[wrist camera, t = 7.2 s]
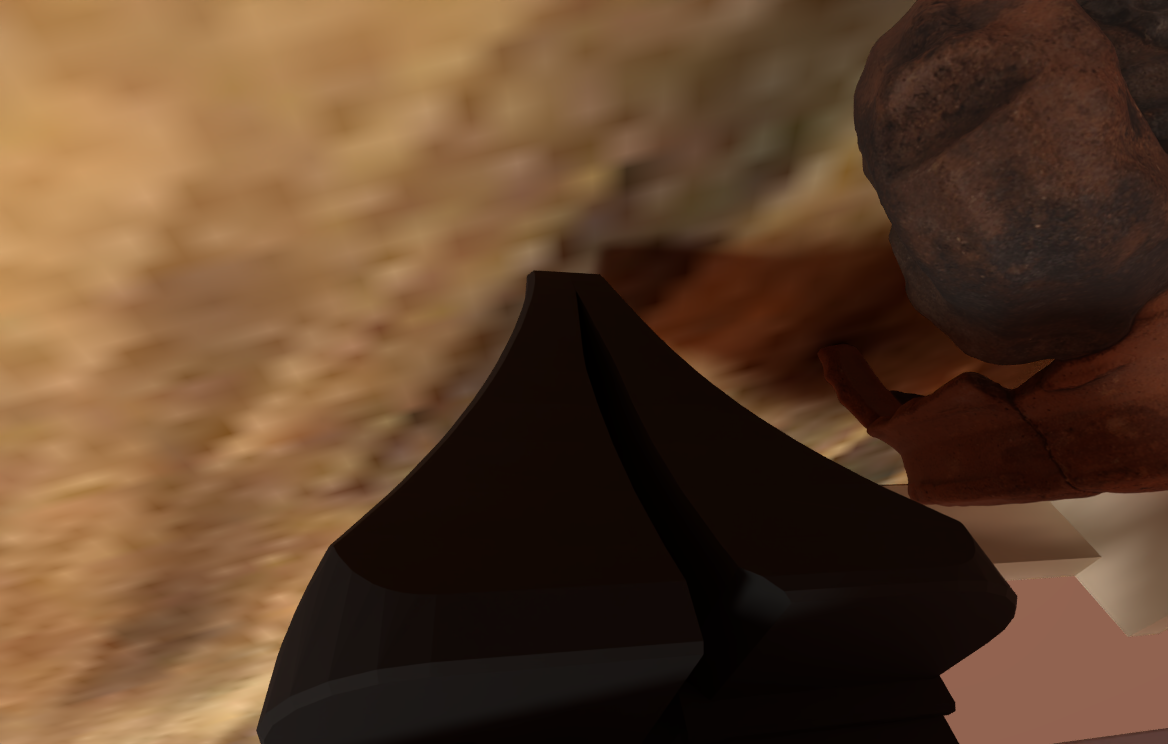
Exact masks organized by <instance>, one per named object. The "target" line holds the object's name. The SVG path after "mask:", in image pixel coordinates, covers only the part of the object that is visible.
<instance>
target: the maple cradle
mask: <svg viewBox="0 0 1168 744" xmlns="http://www.w3.org/2000/svg"><path fill="white" fill-rule="evenodd" d="M883 487H885V488H887V489H889V490H892V491H894V492H896V493H898V494H900V495H903V496H905V497H907V498H909V499H910V497H909V495H908V485H894V486H883ZM925 506H927V507H929V508H931V509H934V510H936V511H938V512H940V513H942V514H945V515H947V516H949V517H951V518H954V519H956V520H958V521H960V522H961V523H962V524H963V525H964V526H965V527H966V529H967V530H968V531H969V533H970V534H971V535H972V537H973V538H974V539H975V541H976V542H977V543H978V545H979V546H980V547H981V548H982V550H983V551H984V552H985V554H986V555H987V556H988V558H989V559H990V560H991V562H992V563H993V564H994V566H995V567H996V568H997V570H998V571H999V572H1000V574H1001V575H1002V576H1003V578H1004V579H1005V580H1006V581H1007V580H1022V579H1036V578H1050V577H1051V578H1052V577H1064V576H1065V577H1066V576H1075V577H1076V578H1077V579H1078V580H1079V581H1080V582H1081V584H1082V585H1083V586H1084V587H1085V588H1086V589H1087V591H1088V592H1089V593H1090V594H1091V595H1092V596H1093V597H1094V599H1095V600H1096V601H1097V602H1098V603H1099V604H1100V605H1101V607H1102V608H1103V609H1104V610H1105V611H1106V612H1107V613H1108V614H1109V616H1110V617H1111V618H1112V619H1113V620H1114V621H1115V623H1116V624H1117V625H1118V626H1119V627H1120V628H1121V630H1122V631H1123V632H1124V633H1125V634H1126V635H1127V636H1128V637H1133V636H1143V635H1154V634H1159V633H1161V632H1163V631H1165V630H1167V629H1168V490H1167V491H1158V492H1146V493H1128V494H1123V493H1109V492H1105V493H1101V494H1099V495H1096V496H1092V497H1088V498H1078V499H1064V500H1056V501H1041V502H1035V503H1025V504H1006V505H996V506H967V507H960V506H953V507H946V506H940V505H936V504H935V505H925Z"/></svg>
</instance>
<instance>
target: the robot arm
mask: <svg viewBox="0 0 1168 744" xmlns="http://www.w3.org/2000/svg"><path fill="white" fill-rule="evenodd" d="M1016 605H1017V595H1016V594H1015V592H1014V591H1013V590H1012V588H1010V586H1009V584H1008V583H1007V582H1006V580H1005V579H1004V578H1003V576H1002V575H1001V574H1000V572H999V571H998V570H997V568H996V567H995V566H994V564H993V563H992V562H991V560H990V559H989V558H988V556H987V555H986V554H985V552H984V551H983V550H982V548H981V547H980V546H979V545H978V543H977V542H976V541H975V539H974V538H973V537H972V535H971V534H970V533H969V531H968V530H967V529H966V527H965V526H964V525H963V524H962V523H961V522H960V521H958V520H956V519H954V518H951V517H949V516H947V515H945V514H942V513H940V512H938V511H936V510H934V509H931V508H929V507H927V506H925V505H923V504H920V503H918V502H916V501H914V500H912V499H909V498H907V497H905V496H903V495H900V494H898V493H896V492H894V491H892V490H889V489H887V488H885V487H883V486H881V485H878V484H876V483H874V482H872V481H870V480H868V479H866V478H864V477H862V476H860V475H858V474H857V473H855V472H853V471H851V470H849V469H847V468H845V467H843V466H841V465H839V464H837V463H836V462H834V461H832V460H830V459H828V458H826V457H824V456H822V455H821V454H819V453H817V452H815V451H814V450H812V449H810V448H808V447H807V446H805V445H803V444H801V443H800V442H798V441H796V440H794V439H793V438H791V437H790V436H788V435H786V434H785V433H783V432H782V431H780V430H778V429H777V428H775V427H774V426H772V425H770V424H769V423H767V422H766V421H764V420H762V419H761V418H759V417H758V416H756V415H755V414H753V413H752V412H750V411H749V410H747V409H746V408H745V407H743V406H742V405H740V404H739V403H737V402H736V401H735V400H733V399H732V398H731V397H729V396H728V395H727V394H725V393H724V392H723V391H721V390H720V389H719V388H717V387H716V386H715V385H713V384H712V383H711V382H709V381H708V380H707V379H706V378H704V377H703V376H702V375H701V374H700V373H698V372H697V371H696V370H695V369H694V368H692V367H691V366H690V365H689V364H688V363H687V362H686V361H685V360H683V359H682V358H681V357H680V356H679V355H678V354H677V353H676V352H674V351H673V350H672V349H671V348H670V347H669V346H668V345H667V344H666V343H665V342H664V341H663V340H662V339H661V338H660V337H658V336H657V335H656V334H655V333H654V332H653V331H652V330H651V329H650V328H649V326H648V325H647V324H646V323H645V322H644V321H643V320H642V319H641V318H640V317H639V316H638V315H637V314H636V313H635V312H634V311H633V310H632V309H631V308H630V307H629V305H628V304H627V303H626V302H625V301H624V300H623V299H622V298H621V297H620V296H619V295H618V293H617V292H616V291H615V290H614V289H613V288H612V287H611V286H610V285H609V284H608V282H607V281H606V280H605V279H604V278H603V277H602V276H601V275H600V274H585V273H568V272H551V271H533V272H531V273H530V274H529V275H527V283H526V295H525V301H524V304H523V308H522V311H521V313H520V316H519V318H518V321H517V323H516V326H515V328H514V331H513V333H512V335H511V337H510V339H509V341H508V343H507V345H506V347H505V349H504V351H503V352H502V354H501V356H500V358H499V360H498V362H497V364H496V365H495V367H494V369H493V370H492V372H491V374H490V375H489V377H488V378H487V380H486V382H485V383H484V385H483V386H482V388H481V389H480V390H479V392H478V393H477V395H476V396H475V398H474V399H473V401H472V402H471V403H470V405H469V406H468V407H467V408H466V410H465V411H464V412H463V414H462V415H461V416H460V417H459V419H458V420H457V421H456V423H455V424H454V425H453V426H452V428H451V429H450V430H449V431H448V432H447V434H446V435H445V436H444V437H443V438H442V439H441V441H440V442H439V443H438V444H437V445H436V446H435V447H434V448H433V449H432V450H431V451H430V452H429V453H428V454H427V455H426V456H425V458H424V459H423V460H422V461H421V462H420V463H419V464H418V465H417V466H416V467H415V468H414V469H413V470H412V471H411V472H410V473H409V474H408V475H407V476H406V477H405V478H404V480H403V481H402V482H401V483H400V484H398V485H397V486H396V487H395V488H394V489H393V490H392V491H391V492H390V493H389V494H388V495H387V496H386V497H385V498H383V499H382V500H381V501H380V502H379V503H378V504H377V505H376V506H374V507H373V508H372V509H371V510H370V511H369V512H368V513H366V514H365V515H364V516H363V517H362V518H361V519H360V520H359V521H357V522H356V523H355V524H354V525H353V526H352V527H351V528H349V529H348V530H347V531H346V532H345V533H344V534H343V535H342V536H340V537H339V538H338V539H337V540H336V541H335V542H333V543H332V544H331V545H330V546H329V548H328V549H327V551H326V553H325V555H324V556H323V558H322V560H321V562H320V564H319V566H318V567H317V569H316V571H315V573H314V575H313V577H312V579H311V580H310V582H309V584H308V586H307V588H306V590H305V592H304V594H303V597H302V599H301V601H300V603H299V605H298V607H297V609H296V611H295V613H294V616H293V618H292V621H291V623H290V626H289V628H288V631H287V633H286V635H285V637H284V640H283V642H282V645H281V648H280V651H279V653H278V656H277V660H276V663H275V667H274V670H273V674H272V677H271V681H270V684H269V688H268V691H267V695H266V698H265V702H264V705H263V709H262V712H261V716H260V719H259V723H258V726H257V730H256V731H257V734H258V737H259V740H260V743H261V744H959V743H958V741H957V739H956V737H955V735H954V734H953V732H952V730H951V728H950V726H949V725H948V723H947V721H946V719H945V718H944V716H943V715H949V714H951V713H953V712H955V701H954V700H953V698H952V696H951V695H950V693H949V691H948V689H947V688H946V686H945V684H944V682H943V681H942V679H941V677H940V676H939V675H940V674H942V673H944V672H945V671H946V670H948V669H949V668H951V667H952V666H954V665H955V664H957V663H958V662H960V661H961V660H963V659H964V658H966V657H967V656H969V655H970V654H972V653H973V652H975V651H976V650H978V649H979V648H981V647H982V646H984V645H985V644H987V643H988V642H989V641H991V640H992V639H993V638H994V637H996V636H997V635H998V634H999V633H1001V632H1002V631H1003V630H1005V628H1006V627H1007V626H1008V624H1009V623H1010V622H1011V620H1012V619H1013V618H1014V615H1015V611H1016ZM1055 744H1168V728H1166V729H1158V730H1150V731H1143V732H1136V733H1129V734H1121V735H1114V736H1106V737H1099V738H1092V739H1084V740H1077V741H1070V742H1062V743H1055Z"/></svg>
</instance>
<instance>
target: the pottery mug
mask: <svg viewBox="0 0 1168 744" xmlns="http://www.w3.org/2000/svg"><path fill="white" fill-rule="evenodd" d="M854 124H855V130H856V133H857V137H858V147H859V150H860V152H861V153H862V158H863V171H864V174H865V176H866V177H867V178H868V180H869V181H870V182H871V184H872V186H873V187H874V188H875V190H876V191H877V194H878V197H879V199H880V203H881V205H882V206H883V208H884V210H885V212H886V214H887V216H888V218H889V220H890V222H891V223H892V227H891V230H890V233H889V241H890V244H891V247H892V250H893V253H894V255H895V257H896V259H897V261H898V264H899V266H900V268H901V271H902V273H903V275H904V278H905V282H906V288H905V290H906V293H907V296H908V298H909V300H910V302H911V303H912V305H913V307H914V308H915V309H916V310H917V311H918V312H920V313H921V314H922V315H923V316H925V317H926V318H928V319H929V320H930V321H932V322H933V323H934V325H935V326H937V327H938V328H939V329H940V330H942V331H943V332H944V333H945V334H946V335H947V336H949V338H950V339H951V340H952V341H953V342H954V343H955V344H956V346H958V347H959V348H960V349H961V350H962V351H963V352H964V353H965V354H967V355H969V356H971V357H974V358H976V359H979V360H981V361H984V362H987V363H992V364H998V365H1016V364H1026V363H1030V362H1035V361H1039V360H1043V359H1055V360H1054V361H1053V362H1052V363H1051V364H1050V365H1048V366H1047V367H1045V368H1044V369H1042V370H1041V371H1039V372H1037V373H1036V374H1035V375H1033V376H1032V377H1031V378H1030V379H1029V380H1027V381H1026V382H1025V383H1023V384H1022V385H1020V386H1019V387H1018V388H1016V389H1007V388H1004V387H1002V386H1000V384H998V383H995V382H993V381H992V380H990V379H988V378H986V377H985V376H983V375H980V374H978V373H975V372H965V373H962V374H960V375H959V376H957V377H956V378H954V379H952V380H951V381H949V382H948V383H946V384H945V385H943V386H942V387H941V388H939V389H938V390H936V391H935V392H934V393H933V394H931V395H928V396H923V395H917V394H911V393H903V392H899V391H889V390H888V389H886V388H885V386H884V385H883V384H882V383H881V382H880V381H879V379H878V378H877V377H876V375H875V374H874V372H873V371H872V369H871V368H870V366H869V365H868V363H867V362H866V361H865V359H864V358H863V356H862V355H861V353H860V352H859V350H858V349H857V348H855V347H853V346H851V345H848V344H843V343H842V344H839V345H832V346H827V347H824V348H822V349H820V350H819V351H818V357H819V359H820V361H821V363H822V365H823V369H824V378H825V380H826V381H827V382H828V383H829V384H830V385H831V386H832V387H833V388H834V389H835V391H836V393H837V396H838V399H839V401H840V403H841V404H842V405H843V406H845V407H846V408H847V409H848V410H849V411H850V412H851V413H852V414H853V415H854V416H855V417H856V418H857V420H858V421H859V422H860V423H861V424H862V425H863V426H864V427H865V428H867V433H868V434H869V435H870V436H872V437H875V438H878V439H880V440H882V441H884V442H885V443H887V444H889V445H890V446H891V447H893V448H894V449H895V450H896V451H897V452H898V453H899V454H900V455H901V457H902V459H903V463H904V467H905V470H906V473H907V477H908V495H909V497H910V499H912V500H914V501H916V502H918V503H920V504H923V505H935V504H936V505H940V506H946V507H953V506H960V507H967V506H996V505H1006V504H1025V503H1035V502H1041V501H1056V500H1064V499H1078V498H1088V497H1092V496H1096V495H1099V494H1101V493H1105V492H1109V493H1123V494H1128V493H1146V492H1158V491H1167V490H1168V0H917V1H916V2H915V3H914V5H913V6H912V7H911V8H910V9H909V11H908V12H907V13H906V14H905V15H904V16H903V17H902V18H901V19H900V20H899V21H898V22H897V23H896V24H895V25H894V26H893V27H892V28H891V29H890V30H889V31H888V32H886V33H885V34H884V35H883V36H881V37H880V38H879V39H878V41H877V42H876V43H875V44H874V46H873V47H872V49H871V51H870V54H869V56H868V59H867V62H866V65H865V68H864V70H863V72H862V75H861V77H860V79H859V82H858V84H857V87H856V90H855V94H854Z"/></svg>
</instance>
